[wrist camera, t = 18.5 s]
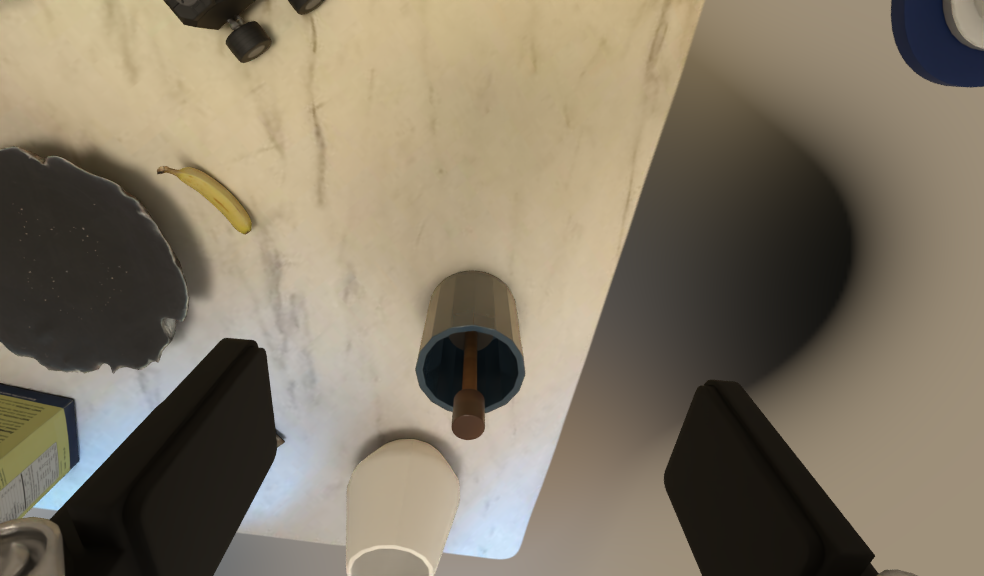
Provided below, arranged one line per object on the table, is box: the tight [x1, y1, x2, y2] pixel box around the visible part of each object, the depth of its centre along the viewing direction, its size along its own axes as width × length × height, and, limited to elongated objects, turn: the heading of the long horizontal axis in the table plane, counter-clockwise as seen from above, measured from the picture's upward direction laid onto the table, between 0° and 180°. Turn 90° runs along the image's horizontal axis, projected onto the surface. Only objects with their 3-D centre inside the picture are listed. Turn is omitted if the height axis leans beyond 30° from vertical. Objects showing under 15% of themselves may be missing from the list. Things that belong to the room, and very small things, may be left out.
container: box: [415, 271, 525, 413], centre depth 44 cm, size 9×9×11 cm
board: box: [0, 146, 189, 374], centre depth 43 cm, size 22×22×5 cm
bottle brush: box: [449, 331, 493, 440], centre depth 41 cm, size 4×4×17 cm
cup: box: [346, 439, 460, 576], centre depth 53 cm, size 13×13×14 cm
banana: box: [157, 166, 252, 234], centre depth 41 cm, size 8×2×4 cm, turn 40°
